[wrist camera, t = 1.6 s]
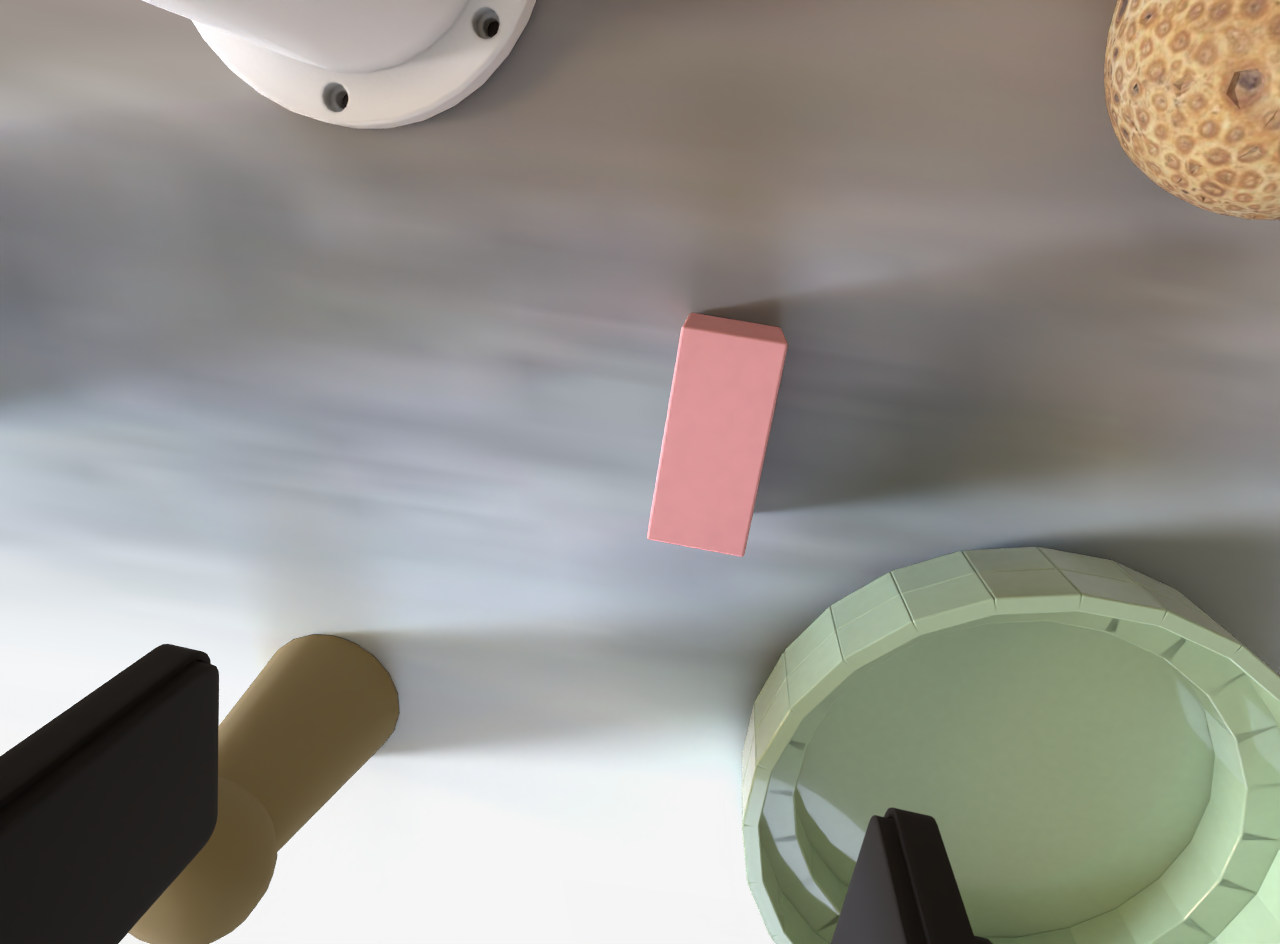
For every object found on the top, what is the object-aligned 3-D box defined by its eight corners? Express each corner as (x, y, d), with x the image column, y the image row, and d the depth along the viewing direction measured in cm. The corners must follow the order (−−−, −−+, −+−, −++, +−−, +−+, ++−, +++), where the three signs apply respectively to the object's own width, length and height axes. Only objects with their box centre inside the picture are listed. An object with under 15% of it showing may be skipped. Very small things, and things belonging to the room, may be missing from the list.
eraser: (690, 312, 27) (681, 325, 24) (781, 327, 27) (788, 343, 23) (658, 500, 29) (646, 540, 26) (743, 515, 29) (743, 558, 25)
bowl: (797, 496, 29) (808, 543, 25) (1348, 596, 27) (1460, 664, 23) (705, 904, 35) (701, 999, 30) (1155, 1003, 33) (1217, 1117, 29)
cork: (404, 650, 33) (246, 847, 22) (394, 770, 35) (244, 1004, 24) (265, 620, 33) (47, 800, 23) (263, 741, 35) (60, 958, 25)
